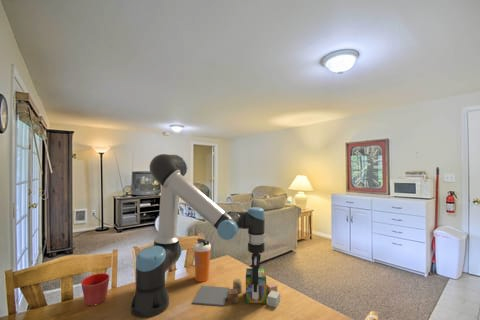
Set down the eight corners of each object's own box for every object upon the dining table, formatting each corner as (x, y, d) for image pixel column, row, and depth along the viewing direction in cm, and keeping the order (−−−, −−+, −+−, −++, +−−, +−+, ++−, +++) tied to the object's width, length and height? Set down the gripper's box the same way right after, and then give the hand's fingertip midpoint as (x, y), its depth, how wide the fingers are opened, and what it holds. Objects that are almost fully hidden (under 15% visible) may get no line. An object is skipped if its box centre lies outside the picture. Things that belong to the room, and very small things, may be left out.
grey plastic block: (267, 305, 102) (267, 295, 102) (271, 299, 106) (271, 290, 106) (276, 307, 100) (276, 298, 100) (280, 301, 104) (280, 292, 104)
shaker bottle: (202, 273, 131) (202, 236, 131) (214, 277, 125) (214, 239, 125) (189, 279, 123) (190, 241, 123) (202, 284, 118) (202, 244, 118)
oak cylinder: (232, 293, 110) (232, 282, 110) (233, 289, 114) (233, 278, 114) (240, 294, 110) (241, 283, 110) (241, 289, 114) (242, 279, 114)
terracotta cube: (269, 296, 108) (269, 287, 108) (265, 291, 112) (265, 283, 112) (277, 294, 110) (277, 285, 110) (272, 290, 114) (272, 281, 114)
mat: (192, 303, 102) (192, 302, 102) (201, 286, 116) (201, 285, 116) (224, 306, 101) (224, 304, 101) (229, 288, 114) (229, 287, 114)
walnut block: (228, 303, 103) (228, 294, 103) (228, 298, 107) (228, 289, 107) (238, 302, 103) (238, 293, 103) (236, 297, 107) (236, 288, 107)
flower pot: (75, 309, 98) (75, 286, 98) (88, 295, 108) (88, 273, 108) (103, 307, 99) (103, 284, 99) (113, 293, 110) (113, 272, 110)
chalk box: (266, 304, 102) (266, 269, 102) (245, 303, 103) (245, 269, 103) (265, 292, 111) (265, 261, 111) (246, 291, 112) (246, 260, 112)
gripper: (264, 251, 96) (263, 307, 96) (264, 235, 118) (264, 280, 117) (245, 250, 97) (245, 306, 97) (249, 234, 118) (249, 279, 118)
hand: (256, 292), depth 107 cm, fingers closed on chalk box, 9 cm apart
